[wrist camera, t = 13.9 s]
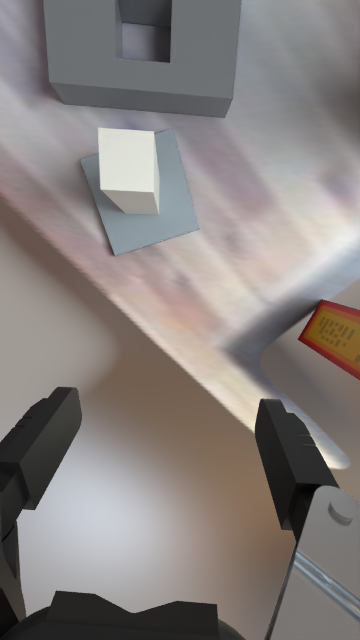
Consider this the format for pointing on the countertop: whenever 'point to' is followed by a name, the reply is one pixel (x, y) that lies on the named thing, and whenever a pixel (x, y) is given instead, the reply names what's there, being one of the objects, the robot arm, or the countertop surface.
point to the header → (138, 75)
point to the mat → (145, 228)
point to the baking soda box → (335, 335)
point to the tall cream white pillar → (129, 169)
